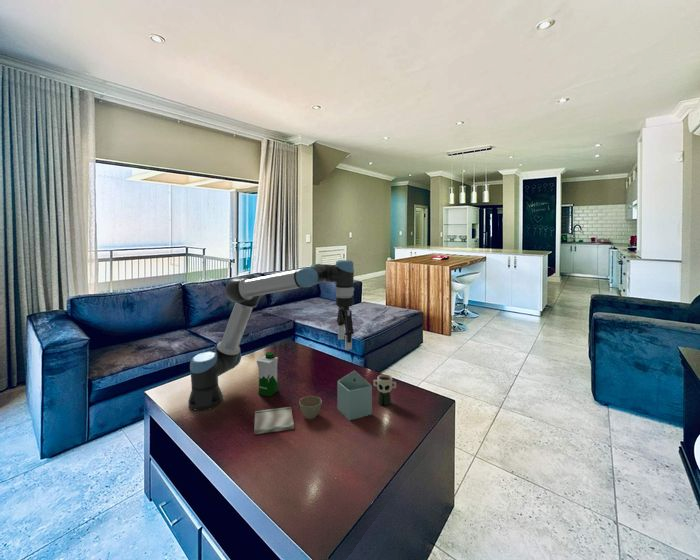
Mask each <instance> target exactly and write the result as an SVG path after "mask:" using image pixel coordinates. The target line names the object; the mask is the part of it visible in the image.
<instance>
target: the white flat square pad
mask: <svg viewBox="0 0 700 560" xmlns="http://www.w3.org/2000/svg"><path fill="white" fill-rule="evenodd" d="M253 429H254V430H253V434H254V435H260V434H266V433H273V432H281V431H288V430H294V429H295V424H294V418H293V411H292V406H285V407H278V408H270V409H260V410H255V411H254V428H253Z"/></svg>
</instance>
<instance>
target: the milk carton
mask: <svg viewBox="0 0 700 560" xmlns="http://www.w3.org/2000/svg"><path fill="white" fill-rule="evenodd" d="M278 361H279V357H277V356H275V355H274V352H272V351H270V352H266V353H265V355H263V356H262V357H260V358H259V359H257V360H256V365H257V369H258V395H261V396H266V397H272V396H273V395H275V394H276V393H277V392H278V391H279V385H278V384H279V383H278V363H279V362H278Z"/></svg>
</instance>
